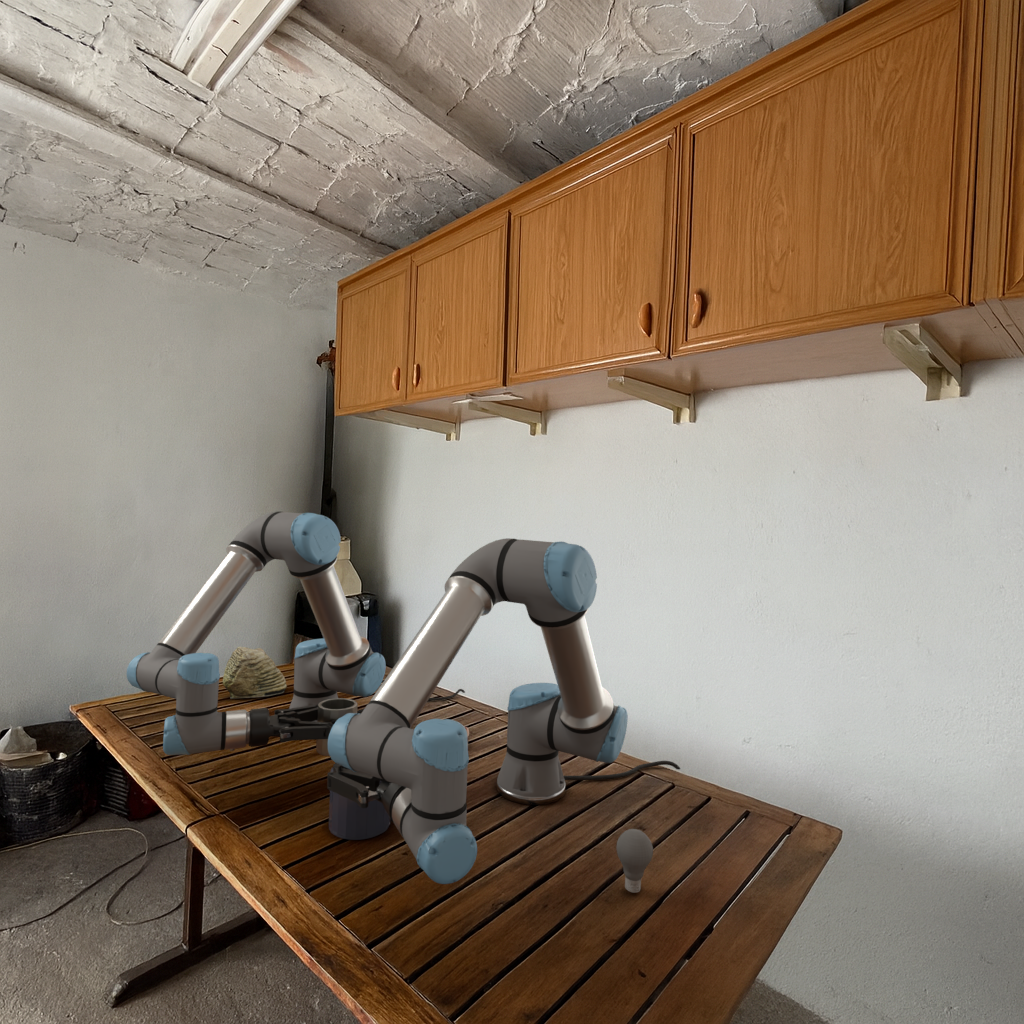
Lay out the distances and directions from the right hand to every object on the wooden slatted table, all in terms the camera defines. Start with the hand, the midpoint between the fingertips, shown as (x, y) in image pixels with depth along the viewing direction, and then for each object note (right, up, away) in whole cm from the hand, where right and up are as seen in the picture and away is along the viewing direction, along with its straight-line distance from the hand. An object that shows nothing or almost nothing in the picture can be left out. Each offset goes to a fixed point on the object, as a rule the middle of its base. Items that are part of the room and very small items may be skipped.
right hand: (375, 752), depth 114 cm
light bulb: (+45, -20, -9) cm, 50 cm away
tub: (-5, -18, +9) cm, 20 cm away
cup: (-14, -9, +25) cm, 30 cm away
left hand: (-10, -3, +27) cm, 29 cm away
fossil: (-56, -14, +84) cm, 102 cm away
